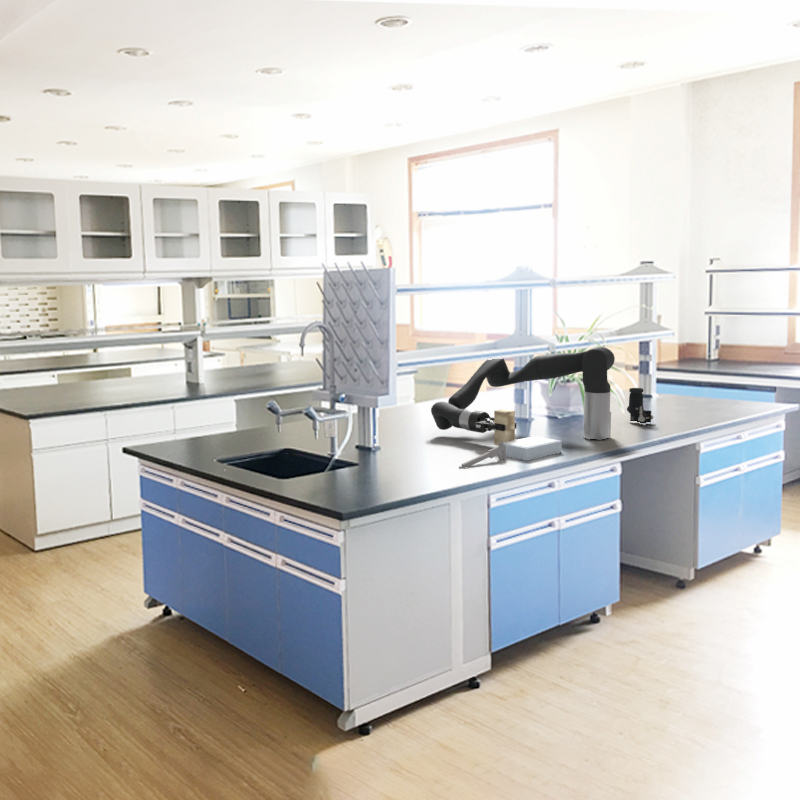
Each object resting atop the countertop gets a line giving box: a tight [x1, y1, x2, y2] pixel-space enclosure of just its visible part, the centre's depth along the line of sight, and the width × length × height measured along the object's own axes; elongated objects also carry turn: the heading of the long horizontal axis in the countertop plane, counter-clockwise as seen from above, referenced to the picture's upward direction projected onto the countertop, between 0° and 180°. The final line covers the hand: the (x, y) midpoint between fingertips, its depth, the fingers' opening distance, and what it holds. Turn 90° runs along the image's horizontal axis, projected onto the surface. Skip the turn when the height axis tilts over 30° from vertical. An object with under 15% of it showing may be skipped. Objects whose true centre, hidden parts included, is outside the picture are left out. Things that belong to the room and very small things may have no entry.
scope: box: [626, 387, 654, 423], centre depth 338 cm, size 8×14×10 cm
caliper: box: [458, 441, 507, 469], centre depth 270 cm, size 20×1×6 cm, turn 130°
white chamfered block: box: [501, 435, 563, 461], centre depth 284 cm, size 18×12×4 cm, turn 131°
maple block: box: [493, 408, 516, 447], centre depth 292 cm, size 5×5×12 cm
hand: (510, 426), depth 290 cm, fingers closed on maple block, 5 cm apart
